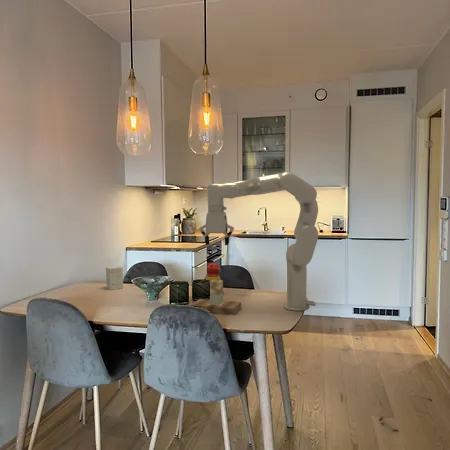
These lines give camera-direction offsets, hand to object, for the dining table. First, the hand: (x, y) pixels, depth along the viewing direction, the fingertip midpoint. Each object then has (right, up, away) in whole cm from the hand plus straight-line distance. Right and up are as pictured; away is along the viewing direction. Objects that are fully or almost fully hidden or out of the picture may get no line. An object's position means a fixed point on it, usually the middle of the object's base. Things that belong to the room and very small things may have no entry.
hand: (217, 245), depth 194 cm
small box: (-62, -29, +49) cm, 84 cm away
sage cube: (0, -29, +2) cm, 29 cm away
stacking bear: (-3, -30, +32) cm, 44 cm away
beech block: (0, -24, +2) cm, 24 cm away
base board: (0, -32, +2) cm, 32 cm away
